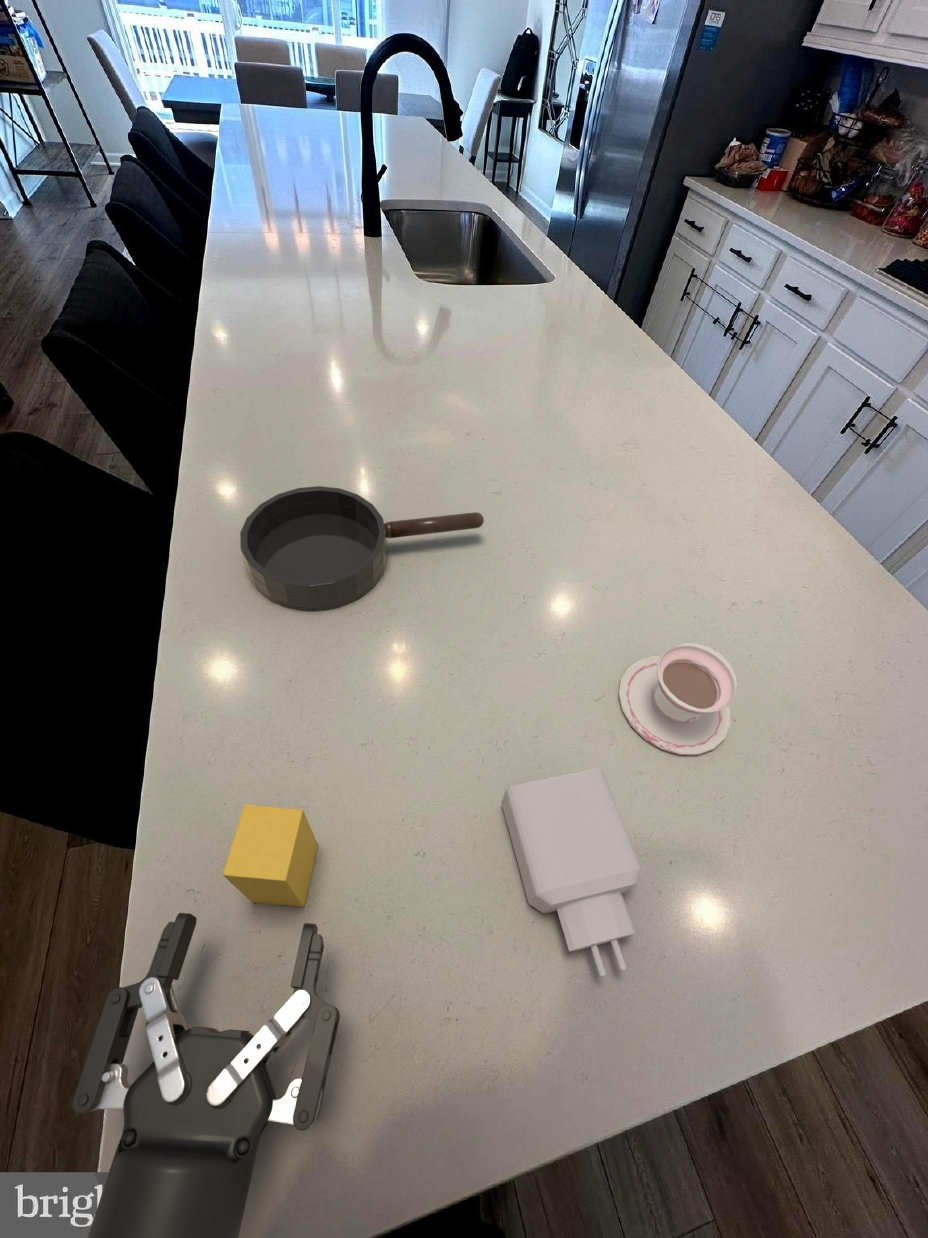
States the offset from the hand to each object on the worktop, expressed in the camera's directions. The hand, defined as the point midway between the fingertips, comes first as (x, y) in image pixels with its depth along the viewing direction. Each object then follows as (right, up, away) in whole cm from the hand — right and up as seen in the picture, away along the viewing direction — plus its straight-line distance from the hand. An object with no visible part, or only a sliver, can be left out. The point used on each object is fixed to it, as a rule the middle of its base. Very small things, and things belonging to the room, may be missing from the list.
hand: (250, 920), depth 39 cm
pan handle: (+11, +32, +32) cm, 46 cm away
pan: (-3, +28, +31) cm, 42 cm away
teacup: (+37, +12, +22) cm, 45 cm away
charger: (+24, -2, +10) cm, 27 cm away
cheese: (0, 0, +8) cm, 8 cm away
